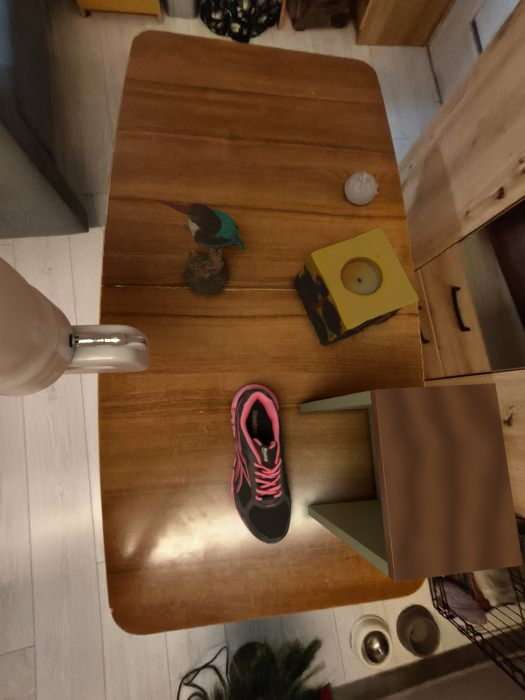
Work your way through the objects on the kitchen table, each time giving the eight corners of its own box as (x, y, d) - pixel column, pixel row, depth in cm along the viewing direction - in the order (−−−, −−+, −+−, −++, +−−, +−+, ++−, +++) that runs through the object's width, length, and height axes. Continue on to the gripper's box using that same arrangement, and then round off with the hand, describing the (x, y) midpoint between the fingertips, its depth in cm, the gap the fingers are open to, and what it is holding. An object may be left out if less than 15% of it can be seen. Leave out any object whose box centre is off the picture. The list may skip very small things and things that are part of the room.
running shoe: (237, 544, 75) (246, 568, 62) (216, 390, 79) (221, 383, 66) (296, 531, 77) (317, 552, 64) (273, 382, 81) (288, 374, 68)
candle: (385, 322, 87) (423, 301, 72) (321, 349, 84) (348, 333, 69) (354, 256, 88) (385, 223, 74) (290, 281, 85) (309, 251, 71)
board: (388, 577, 46) (394, 582, 44) (369, 390, 49) (374, 389, 48) (513, 561, 48) (523, 565, 47) (487, 384, 51) (495, 383, 50)
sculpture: (166, 250, 82) (155, 176, 58) (239, 257, 84) (258, 189, 60) (163, 290, 81) (150, 233, 56) (237, 297, 83) (255, 244, 58)
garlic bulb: (371, 213, 91) (387, 193, 83) (339, 208, 90) (353, 188, 82) (371, 185, 92) (388, 162, 84) (340, 180, 91) (354, 157, 83)
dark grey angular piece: (308, 514, 78) (388, 577, 46) (300, 404, 81) (369, 390, 49) (385, 506, 80) (513, 561, 48) (374, 400, 84) (487, 384, 51)
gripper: (143, 302, 37) (156, 335, 51) (-125, 305, 34) (-35, 339, 47) (144, 374, 36) (157, 388, 49) (-133, 385, 33) (-38, 397, 46)
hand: (62, 364), depth 48 cm, fingers closed
